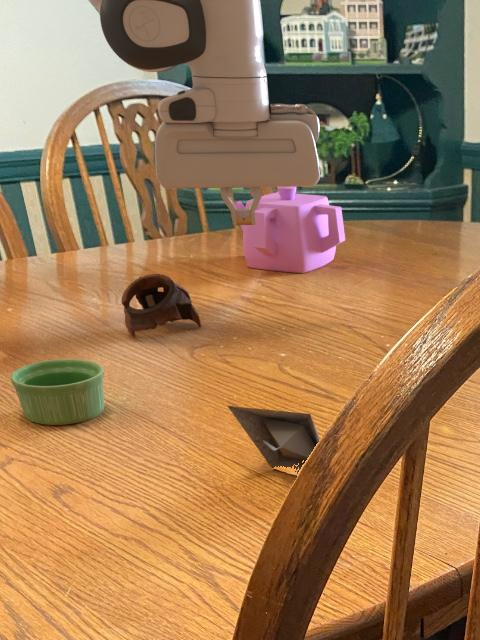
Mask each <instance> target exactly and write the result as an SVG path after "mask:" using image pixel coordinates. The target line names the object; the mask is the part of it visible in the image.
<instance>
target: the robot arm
mask: <svg viewBox="0 0 480 640" xmlns="http://www.w3.org/2000/svg"><path fill="white" fill-rule="evenodd" d="M87 1H88V2H89V4H91V5H92V6H93V8H94V9H95V10H96V12H97V13H98V15H99V19H100V20H99V21H100V26H101V30H102V33H103V36H104V38H105V40H106V42H107V44H108V46H109V47H110V49H111V50H112V52H113V53H115V55H116V56H117V57H118V58H119V59H120V60H121V61H123V62H124V63H126V64H127V65H128V66H130V67H132V68H134V69H136V70H139V71H141V72H146V73H162V72H167V71H170V70H173V69H175V68H176V67H177V66H179V65H187V66H188V67H189V69H190V72H191V81H192V86H191V89H190V88H189V89H187V90H186V89H183V90H180V91H178V92H177V93H176V94H173V95H171V96H167V97H165V98H162V99H161V100H160V101H159V102H158V103H157V112H158V113H157V114H158V116H159V118H160V120H161V121H163V122H161V124H160V125H159V126H158V128H157V131H156V134H155V138H154V139H155V140H154V167H155V176H156V181H157V183H158V184H159V185H160V186H161V187H162V188H164V189H220V197H221V200H222V201H223V202H224V204H225V205H226V207H227V208H228V210H229V211H230V212H231V220H232V226H235V227H236V226H240V225H256V222H255V211H256V208H257V206H258V204H259V202H260V200H261V197H262V196H263V195H262V188H277V187H315V186H316V185H317V184H318V182H319V181H320V180H321V173H320V171H321V170H320V162H319V156H318V151H317V150H318V149H317V147H316V143H317V142H318V141H319V137H320V119H319V117H318V115H317V113H316V112H315V111H314V110H313V109H311V108H309V107H307V106H306V104H304V103H303V104H302V103H295V104H286V103H270V100H269V88H268V77H267V76H268V75H267V70H266V67H265V64H264V61H263V60H264V59H263V53H262V45H263V39H264V26H263V25H264V24H263V15H262V6H261V0H87ZM232 188H249V194H250V197H253V198H252V199H253V200H252V202H251V204H250V207H249V209H236V207H235V206H234V204H233V203H232V202H233V201H232V199H231V198H232V197H233V190H232ZM243 217H244V218H243Z"/></svg>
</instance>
